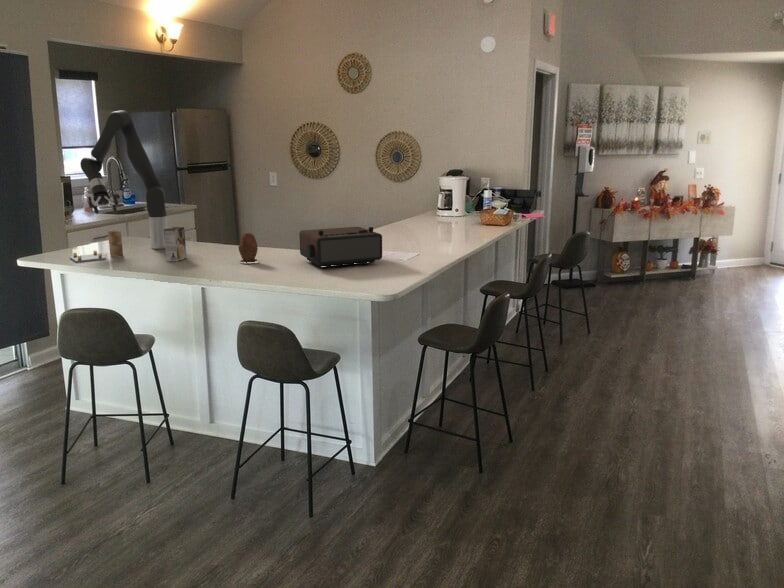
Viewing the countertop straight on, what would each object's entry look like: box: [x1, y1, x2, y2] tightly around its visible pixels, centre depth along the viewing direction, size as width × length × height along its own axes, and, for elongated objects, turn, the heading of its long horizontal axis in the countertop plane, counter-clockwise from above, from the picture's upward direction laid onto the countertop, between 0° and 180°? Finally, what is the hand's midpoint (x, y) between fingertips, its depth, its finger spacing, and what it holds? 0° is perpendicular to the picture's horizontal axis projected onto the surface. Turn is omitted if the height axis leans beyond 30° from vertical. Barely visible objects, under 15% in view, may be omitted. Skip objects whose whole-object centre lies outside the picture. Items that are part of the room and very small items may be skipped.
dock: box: [69, 250, 107, 264], centre depth 341 cm, size 14×14×3 cm
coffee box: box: [164, 226, 187, 262], centre depth 337 cm, size 9×6×16 cm
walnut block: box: [107, 229, 124, 258], centre depth 348 cm, size 5×5×13 cm
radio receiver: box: [299, 226, 383, 267], centre depth 328 cm, size 35×27×18 cm
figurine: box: [238, 232, 259, 263], centre depth 331 cm, size 9×10×15 cm
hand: (106, 212), depth 354 cm, fingers open, 8 cm apart
